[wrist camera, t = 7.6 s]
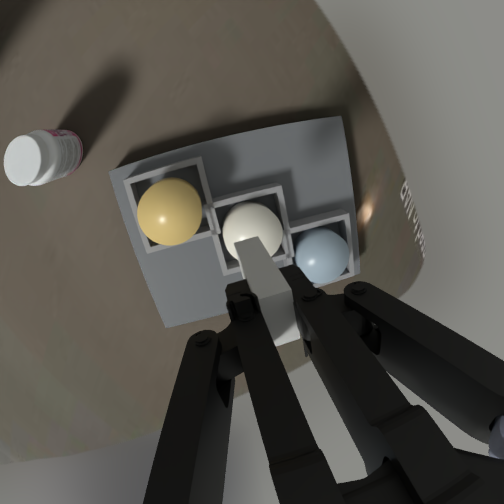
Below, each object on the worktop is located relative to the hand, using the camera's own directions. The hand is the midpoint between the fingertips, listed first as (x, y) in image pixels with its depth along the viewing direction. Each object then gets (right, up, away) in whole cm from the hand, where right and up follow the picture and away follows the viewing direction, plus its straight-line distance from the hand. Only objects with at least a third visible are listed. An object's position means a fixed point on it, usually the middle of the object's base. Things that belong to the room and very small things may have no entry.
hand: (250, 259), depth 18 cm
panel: (-1, +4, +12) cm, 13 cm away
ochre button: (-7, +4, +6) cm, 10 cm away
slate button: (+6, +1, +11) cm, 13 cm away
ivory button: (0, +3, +9) cm, 10 cm away
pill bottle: (-19, +10, +6) cm, 22 cm away
